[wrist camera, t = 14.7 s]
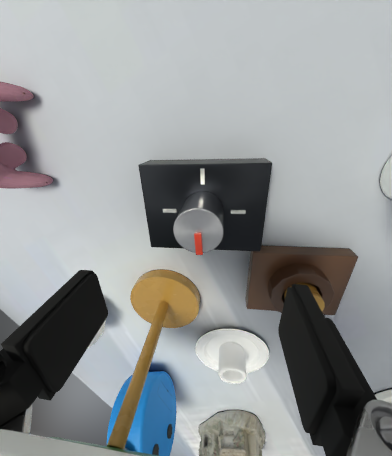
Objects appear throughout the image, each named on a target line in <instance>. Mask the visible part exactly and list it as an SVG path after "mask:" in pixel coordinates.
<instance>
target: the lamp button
mask: <svg viewBox="0 0 392 456" xmlns="http://www.w3.org/2000/svg"><path fill="white" fill-rule="evenodd" d="M297 284H300V285H307V286H308V287H309V289H310V290H311V292H312V294H313V296H314V298H315V300H316V302H317V303H318V305H319V307H320V309H321V311H323V310H324V307H325V304H324V301H323V299H322V297H321V296H320V294H319V292H318V291H317V289H316V288H315V287H314V286H313V285H311V284H308V283H297ZM291 286H292V285H291ZM291 286H290V287H291ZM286 292H287V289H286V291H285V293H284V299H285V297H286Z"/></svg>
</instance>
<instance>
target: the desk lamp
mask: <svg viewBox="0 0 392 456" xmlns="http://www.w3.org/2000/svg"><path fill="white" fill-rule="evenodd" d="M131 303H132V306H133V308H134V310H135V311H136V312H137V313H138V315H140V316H141V317H142V318H143V319H144V320H146V321H148V322H149V323H151V324H152V325H151V327H150V330H149V333H148V335H147V338H146V341H145V343H144V346H143V349H142V352H141V354H140V357H139V360H138V362H137V365H136V368H135V371H134V373H133V376H132V379H131V381H130V384H129V387H128V389H127V392H126V395H125V398H124V400H123V403H122V406H121V408H120V411H119V414H118V416H117V419H116V422H115V425H114V427H113V430H112V433H111V435H110V438H109V441H108V443H107V446H101V445H96V444H90V443H85V442H79V441H73V440H68V439H62V438H57V437H50V438H52V439H58V440H63V441H68V442H73V443H78V444H84V445H89V446H94V447H99V448H104V449H109V450H114V451H119V452H124V453H129V454H134V455H139V456H158V455H152V454H147V453H141V452H136V451H130V450H124V448H125V445H126V442H127V439H128V435H129V432H130V429H131V426H132V423H133V419H134V416H135V413H136V410H137V407H138V403H139V400H140V397H141V394H142V390H143V387H144V384H145V381H146V378H147V374H148V371H149V368H150V365H151V362H152V358H153V355H154V352H155V349H156V345H157V342H158V339H159V336H160V333H161V329H162V327H165V328H178V327H183V326H185V325H188V324H189V323H191V322H192V321H193V320H194V319H195V318H196V316H197V314H198V311H199V304H200V295H199V292H198V290H197V288H196V286H195V285H194V284H193V283H192V282H191V281H190V280H189V279H188V278H186V277H185V276H183V275H181V274H179V273H177V272H174V271H169V270H153V271H150V272H147V273H145V274H143V275H142V276H141V277H140V278H139V279H138V280H137V282H136V284H135V286H134V287H133V289H132V291H131Z"/></svg>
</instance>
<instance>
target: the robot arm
mask: <svg viewBox="0 0 392 456" xmlns="http://www.w3.org/2000/svg"><path fill="white" fill-rule="evenodd" d="M107 316H108V310H107V307H106V303H105V300H104V297H103V294H102V290H101V287H100V284H99V281H98V278H97V275H96V274H95V273H94V272H93V271H88V270H80V271H78V272H77V273H76V274H75V275H74V276H73V277H72V278H71V279H70V280H69V281H68V282H67V283H66V284H64V285H63V286H62V287H61V288H60V289H59V290H58V291H57V292H56V293H55V294H54V295H53V296H52V297H51V298H50V299H48V300H47V301H46V302H45V303H44V304H43V305H42V306H41V307H40V308H39V309H38V310H37V311H36V312H35V313H34V314H32V315H31V316H30V317H29V318H28V319H27V320H26V321H25V322H24V323H23V324H22V325H21V326H20V327H19V328H18V329H17V330H16V331H14V332H13V333H12V334H11V335H10V336H9V337H8V338H7V339H6V340H5V341H4V342H3V343H2V344H1V345H2V347H3V349H2V350H1V351H0V456H139V455H134V454H129V453H124V452H119V451H114V450H109V449H104V448H99V447H94V446H89V445H84V444H78V443H73V442H68V441H63V440H58V439H52V438H47V437H42V436H37V435H32V434H30V426H31V416H32V407H33V402H34V401H35V399H36V398H37V396H38V397H39V398H40V399H46V400H51V399H52V398H53V396H54V394H55V393H56V392H58V391H59V390H60V389H61V388H62V387H63V385H64V383H65V382H66V380H67V379H68V377H69V376H70V374H71V373H72V371H73V370H74V368H75V366H76V365H77V363H78V362H79V360H80V359H81V357H82V356H83V354H84V352H85V351H86V349H87V348H88V346H89V345H90V343H91V342H92V340H93V338H94V337H95V335H96V334H97V332H98V331H99V329H100V328H101V326H102V325H103V323H104V321H105V320H106V318H107ZM279 337H280V341H281V345H282V348H283V352H284V356H285V360H286V364H287V367H288V371H289V375H290V379H291V383H292V387H293V390H294V394H295V398H296V402H297V406H298V409H299V413H300V417H301V421H302V425H303V428H304V430H305V432H306V433H310V436H311V440H312V443H313V445H318V446H323V448H324V451H325V454H326V456H392V389H391V390H387V391H383V392H380V393H377V394H375V395H374V393H373V391H372V390H371V388H370V386H369V384H368V383H367V381H366V379H365V377H364V376H363V374H362V372H361V370H360V368H359V367H358V365H357V363H356V361H355V360H354V358H353V356H352V354H351V353H350V351H349V349H348V347H347V345H346V344H345V342H344V340H343V338H342V337H341V335H340V333H339V331H338V330H337V328H336V326H335V324H334V323H333V321H332V320H331V319H329V318H325V317H324V315H323V313H322V311H321V309H320V307H319V305H318V303H317V302H316V300H315V298H314V296H313V294H312V292H311V290H310V289H309V287H308V286H307V285H300V284H293V285H292V286H291V287H288V288H287V292H286V297H285V301H284V306H283V310H282V315H281V319H280V324H279Z"/></svg>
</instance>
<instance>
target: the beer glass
mask: <svg viewBox="0 0 392 456" xmlns="http://www.w3.org/2000/svg"><path fill="white" fill-rule="evenodd" d="M380 186H381V189H382V191H383V193H384V194H385V195H386V196H387V197H388V198H390V199H392V156H391V157H390V158H389V160H388V161H387V162H386V164H385V166H384V168H383V170H382V172H381V176H380Z"/></svg>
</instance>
